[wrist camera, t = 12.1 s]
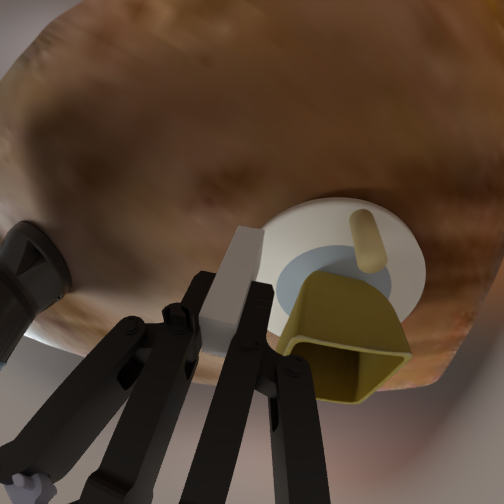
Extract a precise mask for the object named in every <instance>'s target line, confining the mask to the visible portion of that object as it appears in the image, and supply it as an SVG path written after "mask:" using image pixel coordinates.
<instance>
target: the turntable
mask: <svg viewBox="0 0 504 504" xmlns="http://www.w3.org/2000/svg"><path fill="white" fill-rule="evenodd" d="M260 229H262V230H265V234H264V241H263V248H262V255H261V262H260V268H259V272H258V276H257V279H256V281H257V282H262V283H267V284H272V286H273V289H274V292H275V294H274V299H273V304H272V309H271V314H270V319H269V324H268V328H267V330H269V331H271V332H272V333H274V334H275V335H277V336H279V337H280V336H281V333H282V331H283V329H284V327H285V325H286V323H287V321H288V318H289V316H290V314H291V311H292V309H293V306H294V304H295V302H296V299H297V297H298V294H299V291H300V289H301V286H302V284H303V282H304V280H305V279H306V278H307V277H308V275H310V274H311V273H312V272H314V271H317V270H318V271H324V272H328V273H332V274H336V275H340V276H345V277H349V278H354V279H358V280H362V281H365V282H367V283H368V284H370V285H372V286H373V287H375V288H376V289H378V290H379V291H380V292H381V293H382V294H383V295H384V296H385V297H386V298H387V299H388V300H389V302H390V303H391V304H392V306H393V308H394V310H395V312H396V314H397V316H398V318H399V321H400V323H401V322H402V321H404V319H405V318H406V317H407V316H408V315H409V314H410V313H411V312H412V310H413V309H414V308H415V306H416V305H417V303H418V301H419V299H420V297H421V295H422V292H423V289H424V285H425V280H426V267H425V261H424V257H423V254H422V251H421V249H420V247H419V245H418V243H417V241H416V239H415V237H414V235H413V233H412V232H411V230H410V229H409V228H408V226H407V225H406V224H405V223H404V222H403V221H402V220H401V219H400V218H399V217H397V216H396V215H395V214H393V213H392V212H390V211H389V210H387V209H385V208H383V207H381V206H379V205H377V204H374V203H371V202H368V201H364V200H360V199H354V198H347V197H330V198H319V199H315V200H310V201H306V202H303V203H300V204H297V205H295V206H292V207H290V208H288V209H286V210H284V211H282V212H280V213H279V214H277V215H276V216H274V217H273V218H271V219H270V220H269V221H268V222H267V223H266V224H264V225H263V226H262V227H261V228H260Z"/></svg>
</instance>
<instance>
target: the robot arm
mask: <svg viewBox="0 0 504 504" xmlns="http://www.w3.org/2000/svg"><path fill="white" fill-rule="evenodd" d="M264 234H265V230H262V229H256V228H251V227H246V226H240V225H238V227H237V229H236V232H235V234H234V236H233V238H232V240H231V243H230V245H229V247H228V249H227V252H226V254H225V256H224V258H223V261H222V263H221V265H220V267H219V270H218V272H217V274H216V273H211V272H206V271H200V272H199V273H198V274H197V275H195V276H194V278H193V280H192V282H191V284H190V286H189V287H188V289H187V292H186V293H185V295H184V297H183V299H182V301H181V303H172V304H169V305H168V306H166V307H165V308H164V309H163V310H162V315H163V319H164V322H163V323H144V321H143V320H142V319H141V318H140V317H137V316H128V317H125V318H123V319H122V320H120V321H119V322H118V323H117V324H116V326H115V327H114V328H113V329H112V330H111V331H110V332H109V333H108V334H107V335H106V336H105V337H104V338H103V339H102V340H101V341H100V342H99V343H98V344H97V345H96V346H95V348H94V349H93V350H92V351H91V352H90V353H89V354H88V355H87V356H86V357H85V359H83V360H82V362H81V363H80V364H79V365H78V366H77V367H76V368H75V369H74V370H73V371H72V373H71V374H70V375H69V376H68V377H67V378H66V379H65V380H64V382H63V383H62V384H61V385H60V386H59V387H58V388H57V389H56V391H55V392H54V393H53V394H52V395H51V396H50V397H49V399H48V400H47V401H46V402H45V403H44V404H43V406H42V407H41V408H40V409H39V410H38V411H37V413H36V414H35V415H34V416H33V417H32V419H31V420H30V421H29V422H28V423H27V425H26V426H25V427H24V428H23V430H22V431H21V432H20V433H19V434H18V436H17V437H16V438H15V439H14V440H13V441H11V442H9V443H7V444H5V445H3V446H1V447H0V483H2V484H3V485H4V487H5V489H6V491H7V493H8V495H9V497H10V499H11V501H12V503H13V504H48V502H49V501H50V500H51V499H52V498H53V496H54V495H56V494H57V489H56V487H55V486H54V485H53V484H54V483H55V482H57V481H59V480H60V479H62V478H63V477H64V476H65V475H66V474H67V473H68V472H69V471H70V470H71V469H72V468H73V466H74V465H75V464H76V463H77V461H78V460H79V459H80V458H81V456H82V455H83V454H84V453H85V451H86V450H87V449H88V447H89V446H90V445H91V444H92V442H93V441H94V440H95V438H96V437H97V436H98V435H99V434H100V432H101V431H102V430H103V429H104V427H105V426H106V425H107V424H108V422H109V421H110V420H111V419H112V417H113V416H114V415H115V414H116V412H117V411H118V410H119V409H120V407H121V406H122V405H123V404H124V402H125V401H126V400H127V399H128V397H129V396H130V397H129V399H128V401H127V403H126V406H125V408H124V410H123V412H122V415H121V417H120V419H119V421H118V424H117V426H116V428H115V431H114V433H113V435H112V438H111V440H110V442H109V445H108V447H107V450H106V452H105V455H104V457H103V459H102V462H101V464H100V466H99V468H98V469H97V470H96V471H95V472H93V473H92V474H91V475H90V476H89V477H88V479H87V481H86V483H85V486H84V489H83V491H82V494H81V497H80V499H79V500H77V501H74V502H71V503H69V504H151V503H152V499H153V488H154V485H155V482H156V479H157V476H158V473H159V470H160V468H161V464H162V462H163V459H164V456H165V453H166V450H167V447H168V445H169V442H170V439H171V436H172V433H173V431H174V428H175V425H176V422H177V420H178V416H179V414H180V411H181V408H182V405H183V403H184V400H185V397H186V395H187V392H188V389H189V386H190V384H191V381H192V378H193V375H194V373H195V370H196V367H197V364H198V360H199V356H198V354H199V352H200V349H201V347H202V352H205V353H209V354H212V355H216V356H220V357H225V361H224V364H223V367H222V370H221V374H220V377H219V380H218V383H217V386H216V389H215V393H214V396H213V399H212V402H211V405H210V408H209V412H208V415H207V418H206V421H205V424H204V427H203V430H202V433H201V437H200V440H199V443H198V446H197V449H196V453H195V455H194V459H193V462H192V465H191V468H190V471H189V474H188V477H187V480H186V483H185V487H184V489H183V492H182V495H181V499H180V501H179V504H225V501H226V498H227V494H228V491H229V487H230V483H231V480H232V476H233V472H234V468H235V465H236V461H237V457H238V453H239V449H240V445H241V441H242V437H243V433H244V429H245V425H246V421H247V417H248V413H249V409H250V405H251V400H252V396H253V392H254V389H255V390H257V391H259V392H260V393H262V394H264V395H266V396H268V407H269V421H270V434H271V449H272V461H273V462H272V463H273V477H274V490H275V504H331V503H330V494H329V486H328V478H327V470H326V463H325V455H324V448H323V441H322V435H321V428H320V421H319V415H318V409H317V402H316V396H315V390H314V384H313V379H312V373H311V368H310V365H309V363H308V362H307V361H306V360H305V359H304V358H303V357H301V356H299V355H287V356H283V355H281V354H279V353H277V352H276V351H274V350H273V349H272V348H271V347H270V346H269V345H268V343H267V340H266V333H267V328H268V324H269V319H270V314H271V309H272V304H273V299H274V294H275V292H274V289H273V286H272V284H267V283H262V282H257V281H256V279H257V276H258V272H259V268H260V262H261V255H262V248H263V241H264ZM70 287H71V278H70V274H69V271H68V269H67V266H66V264H65V262H64V260H63V259H62V257H61V255H60V254H59V252H58V251H57V249H56V248H55V246H54V245H53V244H52V243H51V241H50V240H49V239H48V238H47V237H46V236H45V235H44V234H43V233H42V232H41V231H40V230H39V229H37V228H36V227H35V226H33V225H31V224H29V223H27V222H18V223H17V224H16V225H15V226H14V227H12V228H11V229H10V230H9V231H8V233H7V235H6V237H5V238H4V240H3V242H2V244H1V246H0V371H1V369H2V368H3V366H4V365H6V364H7V360H8V359H9V357H10V355H11V354H12V352H13V350H14V349H15V347H16V346H17V344H18V342H19V341H20V339H21V338H22V336H23V335H24V333H25V332H26V330H27V329H28V327H29V326H30V324H31V323H32V322H33V320H34V319H35V318H36V316H37V315H38V314H39V313H41V312H43V311H44V310H46V309H47V308H49V307H50V306H52V305H53V304H54V303H55V302H58V301H59V300H61V299H62V298H63V297H64V296H65V294H66V293H67V292H68V291H69V289H70Z"/></svg>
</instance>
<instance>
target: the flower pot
mask: <svg viewBox="0 0 504 504" xmlns="http://www.w3.org/2000/svg"><path fill="white" fill-rule="evenodd" d="M276 352H277V353H279V354H281V355H283V356H287V355H299V356H301V357H303V358H304V359H305V360H306V361H307V362H308V363H309V365H310V368H311V373H312V379H313V384H314V390H315V396H316V400H322V401H329V402H335V403H345V404H359V403H361V402H363V401H364V400H365V399H367V398H368V397H369V396H370V395H371V394H372V393H374V392H375V391H376V390H377V389H378V388H380V387H381V386H382V385H383V384H384V383H385V382H386V381H388V380H389V379H390V378H391V377H392V376H393V375H394V374H395V373H397V372H398V371H399V370H400V369H401V368H402V367H403V366H404V365H405V364H406V363H407V362H408V361H409V360H410V359H411V358H412V356H413V355H412V352H411V349H410V347H409V344H408V341H407V339H406V336H405V333H404V331H403V328H402V326H401V323H400V321H399V318H398V316H397V314H396V312H395V310H394V308H393V306H392V304H391V303H390V302H389V300H388V299H387V298H386V297H385V296H384V295H383V294H382V293H381V292H380V291H379V290H378V289H376V288H375V287H373V286H372V285H370V284H368V283H367V282H365V281H362V280H358V279H354V278H349V277H345V276H340V275H336V274H332V273H328V272H324V271H318V270H317V271H314V272H312V273H311V274H310V275H308V277H307V278H306V279H305V280H304V282H303V284H302V286H301V289H300V291H299V294H298V297H297V299H296V302H295V304H294V306H293V309H292V311H291V314H290V316H289V318H288V321H287V323H286V325H285V327H284V329H283V331H282V333H281V336H280V338H279V341H278V344H277V347H276Z"/></svg>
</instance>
